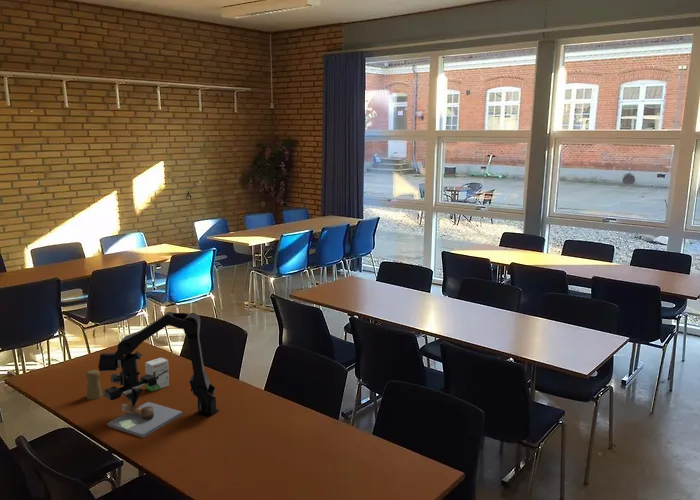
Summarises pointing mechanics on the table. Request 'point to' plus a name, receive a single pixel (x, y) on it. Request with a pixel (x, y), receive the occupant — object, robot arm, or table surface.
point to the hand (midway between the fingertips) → (133, 407)
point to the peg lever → (139, 411)
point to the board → (145, 420)
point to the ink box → (158, 373)
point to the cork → (93, 385)
